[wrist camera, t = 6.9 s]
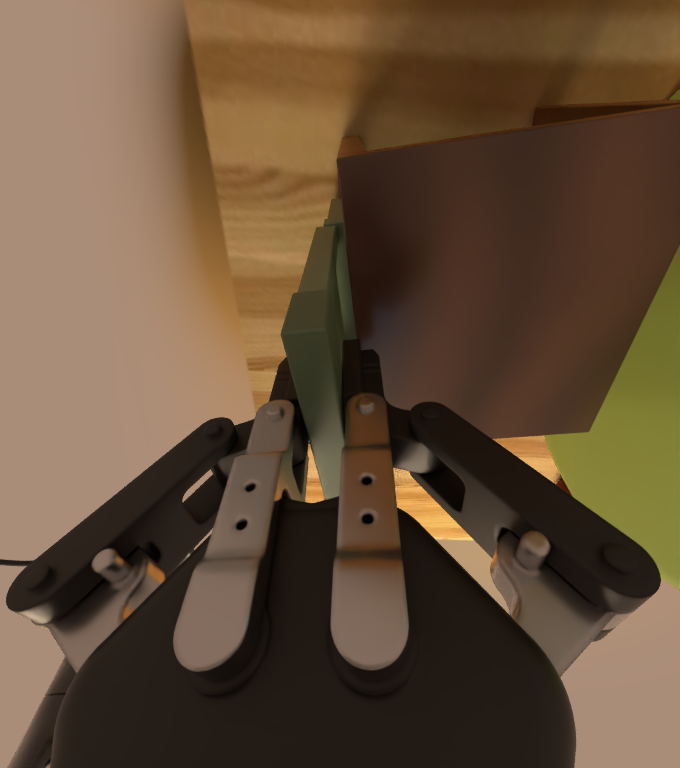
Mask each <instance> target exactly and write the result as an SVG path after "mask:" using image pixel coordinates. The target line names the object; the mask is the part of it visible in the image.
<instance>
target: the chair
mask: <svg viewBox="0 0 680 768" xmlns="http://www.w3.org/2000/svg"><path fill="white" fill-rule="evenodd" d="M281 337H282V341H283V345H284V348H285V352H286V356H287V360H288V363H289V367H290V371H291V374H292V378H293V382H294V386H295V389H296V393H297V397H298V400H299V404H300V408H301V411H302V415H303V419H304V423H305V426H306V430H307V434H308V437H309V441H310V445H311V449H312V452H313V456H314V460H315V463H316V467H317V471H318V474H319V478H320V482H321V486H322V489H323V493H324V497H325V500H327V499H331V498H334V497H337V496H339V490H340V470H341V451H342V447H344V446H345V424H346V420H345V414H344V408H343V402H342V395H341V391H342V343H343V340H349V339H356V331H355V322H354V313H353V304H352V295H351V286H350V277H349V268H348V259H347V250H346V241H345V232H344V223H343V214H342V205H341V198H338V199H332V200H331V205H330V210H329V215H328V219H325V221H324V227H317V228H316V230H315V234H314V237H313V241H312V244H311V248H310V251H309V255H308V258H307V262H306V265H305V269H304V273H303V276H302V280H301V283H300V287H299V290H298V293H294V294H293V295H292V298H291V302H290V305H289V308H288V311H287V315H286V318H285V321H284V324H283V328H282V331H281Z"/></svg>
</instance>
